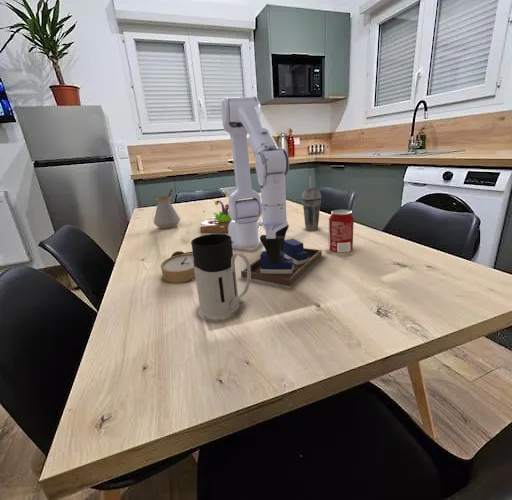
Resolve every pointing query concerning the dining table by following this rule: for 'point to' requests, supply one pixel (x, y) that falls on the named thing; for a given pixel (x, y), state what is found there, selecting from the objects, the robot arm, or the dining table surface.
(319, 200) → the beverage cup
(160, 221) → the coffee pot
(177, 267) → the alarm clock
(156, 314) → the dining table surface
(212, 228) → the plant
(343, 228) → the soda can
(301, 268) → the shoe tray
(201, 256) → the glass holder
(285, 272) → the trainer
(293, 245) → the trainer
